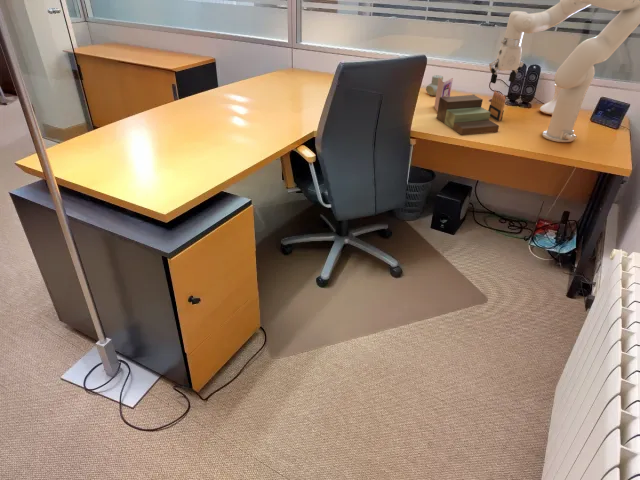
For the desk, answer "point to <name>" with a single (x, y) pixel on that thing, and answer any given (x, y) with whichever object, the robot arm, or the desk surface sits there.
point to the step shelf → (465, 115)
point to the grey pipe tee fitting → (433, 85)
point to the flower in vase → (551, 102)
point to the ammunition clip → (497, 106)
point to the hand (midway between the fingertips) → (502, 82)
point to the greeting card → (442, 90)
